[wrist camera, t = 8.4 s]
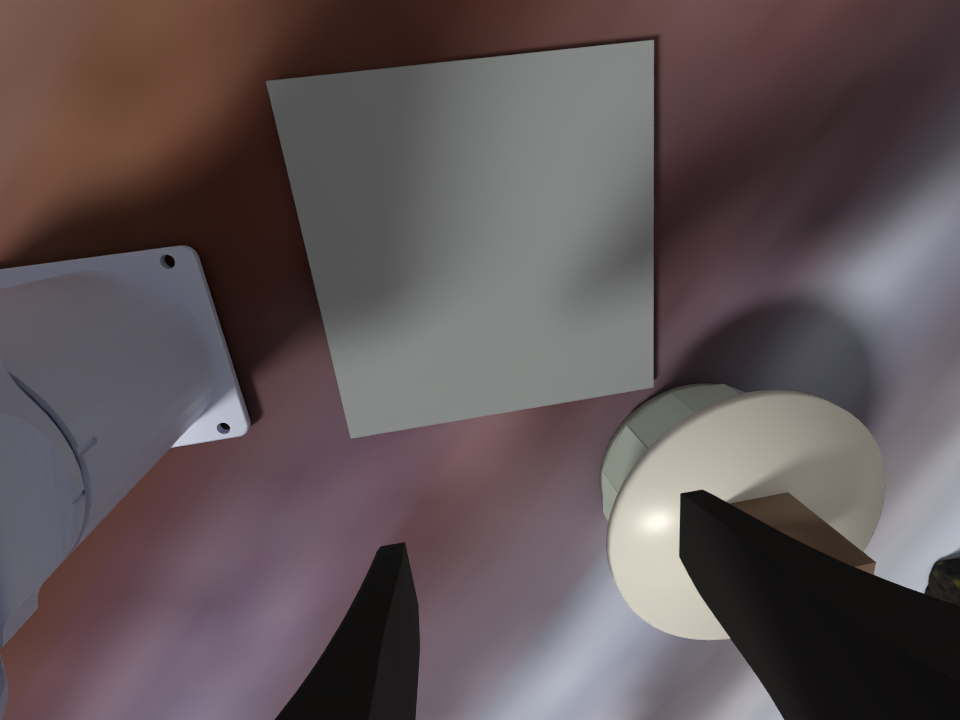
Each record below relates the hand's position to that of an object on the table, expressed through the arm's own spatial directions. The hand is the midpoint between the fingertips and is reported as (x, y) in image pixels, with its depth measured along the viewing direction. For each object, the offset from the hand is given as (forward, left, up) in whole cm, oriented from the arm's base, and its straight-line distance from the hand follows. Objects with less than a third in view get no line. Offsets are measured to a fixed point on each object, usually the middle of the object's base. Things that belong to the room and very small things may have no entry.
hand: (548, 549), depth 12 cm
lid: (+10, -6, -6) cm, 13 cm away
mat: (+1, +6, -10) cm, 12 cm away
